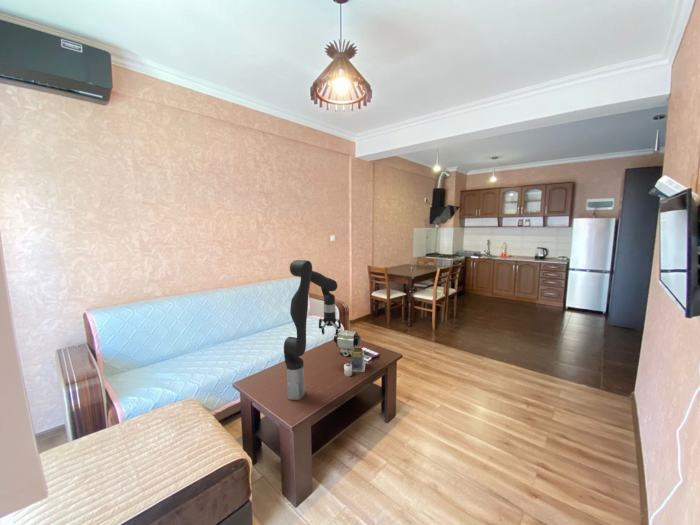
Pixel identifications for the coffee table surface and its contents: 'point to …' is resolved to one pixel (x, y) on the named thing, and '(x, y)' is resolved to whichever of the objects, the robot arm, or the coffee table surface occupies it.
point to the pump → (348, 369)
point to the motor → (357, 360)
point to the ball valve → (347, 341)
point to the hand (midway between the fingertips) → (330, 334)
